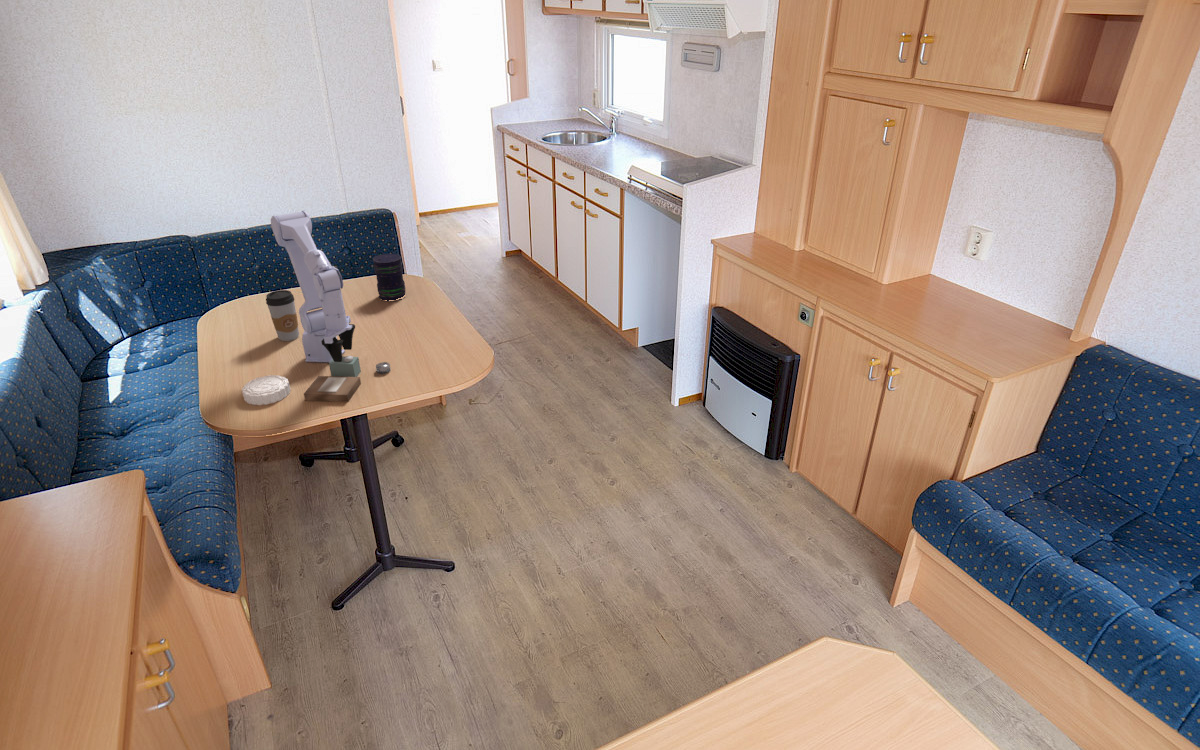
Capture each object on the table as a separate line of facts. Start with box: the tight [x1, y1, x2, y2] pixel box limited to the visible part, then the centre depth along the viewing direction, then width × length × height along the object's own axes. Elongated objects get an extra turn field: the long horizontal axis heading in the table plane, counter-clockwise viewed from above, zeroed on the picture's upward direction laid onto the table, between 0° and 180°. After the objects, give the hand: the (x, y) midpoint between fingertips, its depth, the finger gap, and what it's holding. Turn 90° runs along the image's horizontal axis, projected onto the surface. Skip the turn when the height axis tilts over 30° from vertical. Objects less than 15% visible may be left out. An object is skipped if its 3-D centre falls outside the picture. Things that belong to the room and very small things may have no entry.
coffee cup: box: [265, 289, 300, 342], centre depth 220 cm, size 8×8×15 cm
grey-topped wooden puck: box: [375, 361, 392, 375], centre depth 203 cm, size 4×4×2 cm
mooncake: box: [241, 374, 292, 406], centre depth 191 cm, size 12×12×4 cm
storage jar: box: [372, 253, 406, 302], centre depth 250 cm, size 10×10×15 cm
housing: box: [328, 355, 362, 377], centre depth 200 cm, size 7×4×6 cm, turn 87°
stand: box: [303, 375, 362, 402], centre depth 192 cm, size 12×10×2 cm
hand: (343, 355), depth 198 cm, fingers open, 7 cm apart
